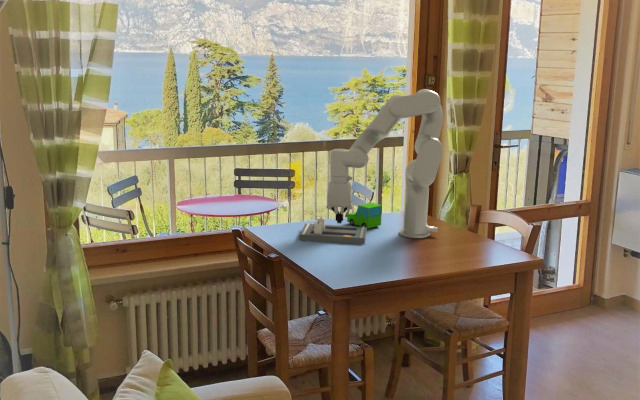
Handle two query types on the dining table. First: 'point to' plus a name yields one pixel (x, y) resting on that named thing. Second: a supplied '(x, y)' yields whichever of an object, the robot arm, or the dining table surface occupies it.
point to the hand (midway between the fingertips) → (339, 222)
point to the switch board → (335, 234)
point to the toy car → (366, 215)
